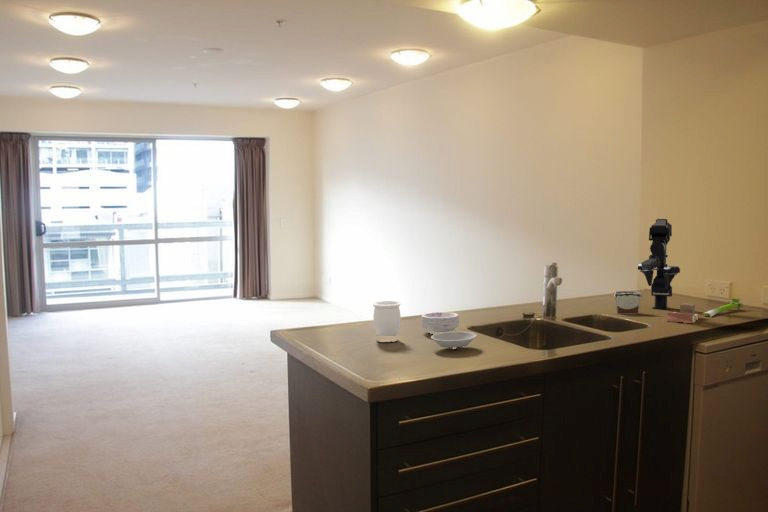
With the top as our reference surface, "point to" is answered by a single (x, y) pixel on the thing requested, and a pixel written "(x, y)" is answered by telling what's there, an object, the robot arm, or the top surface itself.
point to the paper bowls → (440, 321)
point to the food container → (627, 302)
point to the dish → (453, 339)
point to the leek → (725, 307)
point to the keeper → (687, 308)
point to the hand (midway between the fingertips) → (658, 287)
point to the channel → (681, 317)
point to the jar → (387, 318)
